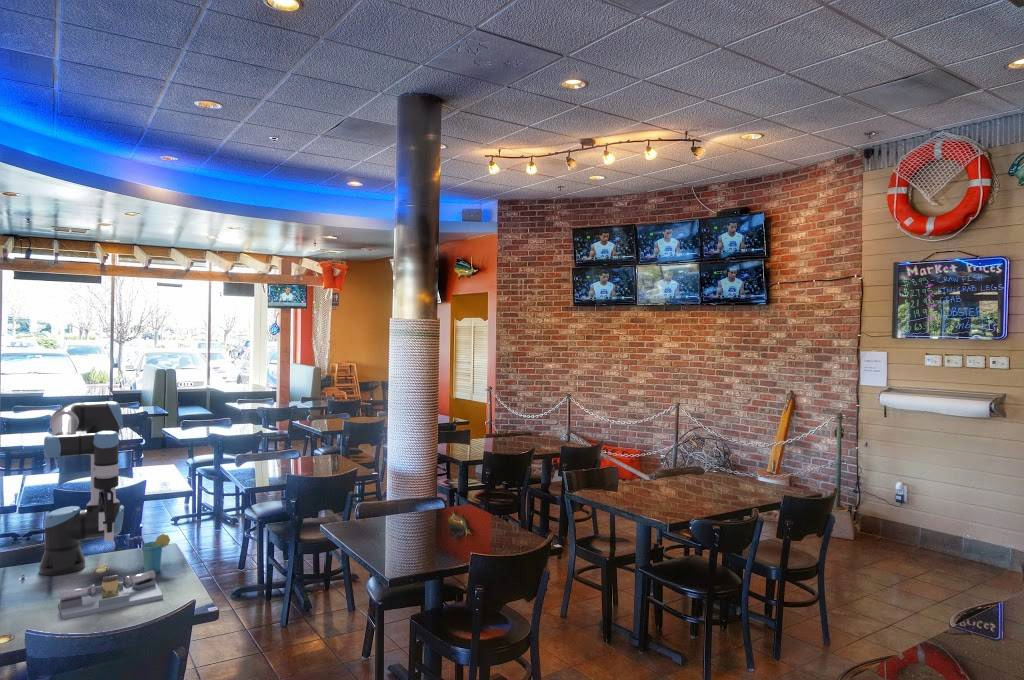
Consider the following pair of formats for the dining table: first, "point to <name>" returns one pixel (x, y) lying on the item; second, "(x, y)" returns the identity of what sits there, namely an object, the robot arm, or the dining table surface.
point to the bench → (107, 601)
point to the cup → (153, 552)
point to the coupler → (110, 586)
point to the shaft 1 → (78, 593)
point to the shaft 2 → (140, 581)
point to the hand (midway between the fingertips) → (106, 535)
